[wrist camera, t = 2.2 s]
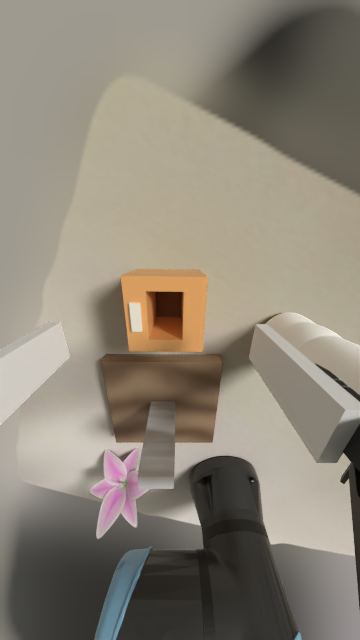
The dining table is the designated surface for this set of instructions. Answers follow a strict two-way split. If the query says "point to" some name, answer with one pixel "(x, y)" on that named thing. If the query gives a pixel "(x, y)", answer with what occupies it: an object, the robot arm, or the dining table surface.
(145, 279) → the orange slotted box
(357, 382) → the water bottle
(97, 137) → the dining table surface
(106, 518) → the lily
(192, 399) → the board
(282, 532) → the dining table surface
